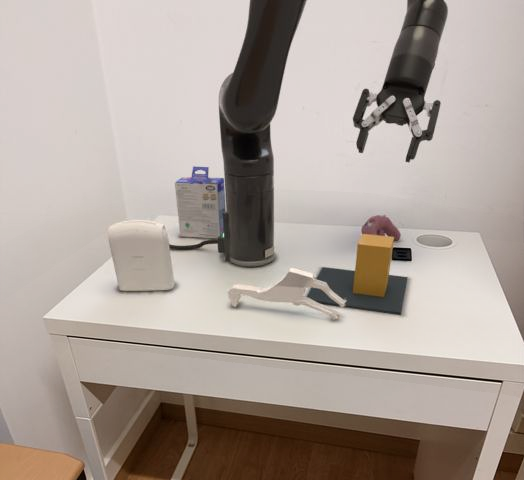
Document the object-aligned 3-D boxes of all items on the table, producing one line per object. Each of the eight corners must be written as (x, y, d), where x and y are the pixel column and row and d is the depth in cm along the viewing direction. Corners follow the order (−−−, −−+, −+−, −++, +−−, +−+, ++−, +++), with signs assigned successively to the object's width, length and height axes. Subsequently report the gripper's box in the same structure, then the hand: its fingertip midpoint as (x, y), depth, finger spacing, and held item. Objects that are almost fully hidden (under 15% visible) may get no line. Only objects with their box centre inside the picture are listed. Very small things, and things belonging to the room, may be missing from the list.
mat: (304, 301, 82) (305, 299, 82) (322, 268, 93) (322, 266, 93) (400, 314, 78) (400, 312, 78) (407, 279, 89) (407, 277, 89)
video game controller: (384, 243, 108) (374, 213, 106) (403, 237, 105) (393, 206, 103) (365, 257, 101) (354, 225, 99) (384, 252, 98) (373, 219, 96)
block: (352, 293, 84) (357, 244, 79) (357, 281, 88) (362, 233, 83) (384, 297, 82) (391, 247, 77) (387, 284, 86) (394, 236, 81)
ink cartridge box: (228, 231, 111) (224, 166, 103) (221, 239, 107) (217, 172, 99) (187, 228, 113) (181, 164, 105) (179, 237, 109) (172, 170, 101)
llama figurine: (320, 344, 82) (227, 297, 82) (351, 292, 75) (249, 240, 75) (318, 350, 81) (223, 302, 81) (350, 297, 74) (246, 245, 74)
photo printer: (115, 292, 86) (101, 225, 79) (121, 282, 90) (108, 217, 83) (172, 292, 86) (163, 225, 79) (176, 281, 89) (168, 216, 82)
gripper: (370, 46, 82) (343, 140, 84) (455, 57, 79) (425, 155, 80) (372, 70, 89) (347, 156, 91) (450, 82, 86) (422, 171, 87)
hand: (383, 156), depth 85 cm, fingers open, 8 cm apart
